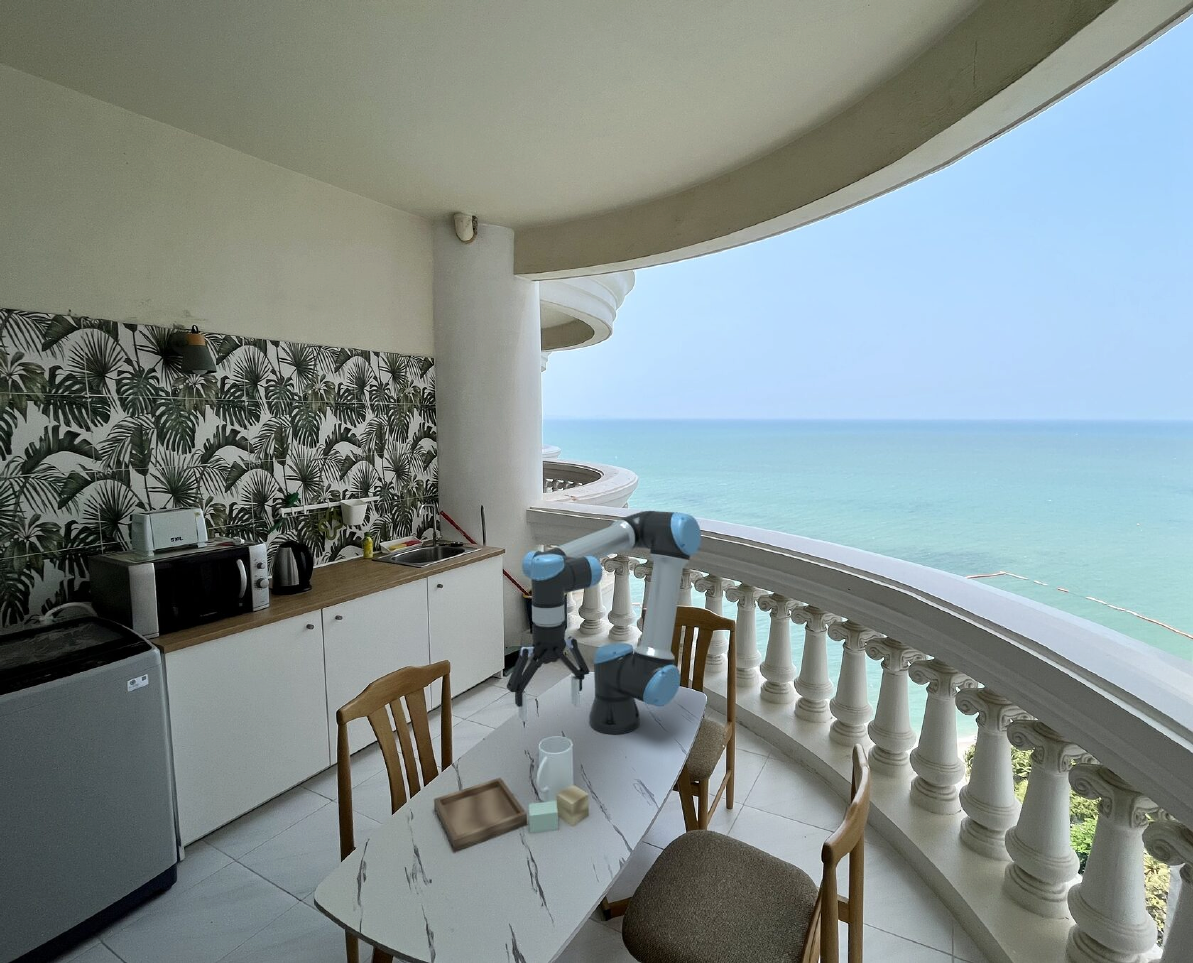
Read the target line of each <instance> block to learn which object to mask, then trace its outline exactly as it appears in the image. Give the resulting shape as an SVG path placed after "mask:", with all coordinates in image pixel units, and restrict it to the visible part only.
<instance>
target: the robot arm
mask: <svg viewBox="0 0 1193 963" xmlns="http://www.w3.org/2000/svg"><path fill="white" fill-rule="evenodd" d="M701 543H702V532H701V528H700V525H699V523H698V521H697V519H696V518H695V517H694V516H693V515H691V514H688V513H684V512H683V513H682V512H678V511H676V512H673V511H659V510H658V511H656V510H645V511H640V512H637V513H634V514H630V515H627V516H625V517H622V518H620V519H619V518H618V519H617V520H615V521H614V522H613V523H612V524H611V526H610V525H609V527H608V526H607V527H605V528H603V529H600V530H598V531H594V532H592V533H590V534H587V535H585V536H581V537H579V538H577V539H575V540H571V541H570V542H565V543H564V544H561V545H559V546H556V547H553V548H550V549H547V550H545V551H541V550H532V551H529V552H528V553H527V554H526V555H525V556H524V557H523V560H522V564H521V567H522V568H521V569H522V572H523V574H524V575H525V576H526V578H528V579H530V580H531V582H530V583H531V618H532V620H531V621H532V622H533V623H532V625H531V627H532V628H531V630H532V633H531V634H532V644H531V646H528V647H526V646H524V645H522V646H521V645H520V647H519V651H518V658H517V660H516V662H515V664H514V667H513V670H512V672H511V674H510V677H509V679H508V681H507V683H506V689H507V690H508V691H509V692H510V693H514V703H515V705H516V706H517V707H518V717H519V719H520V720H521V721H522V722H523V723H524V722H527V721H528V718H527V717H528V716H527V692H526V691H525V689H526V687H527V686H528V684H529V683H530V682H531V680H532V679H533V676H535V674H536V672H537V671H538V669H539V668H541V667H542V665H543V664H544V665H548V664H550V663H556V662H558V660H560V661H561V663H563V665H565V667H566V668H567V669H568V670H569V671H570V672H571V673H572V674H573V675H574V676H573V675H571V677H570V685H571V686H570V690H571V695H570V696H571V702H570V703H571V704H572V705H573V706H574V707H576V708H580V703H581V702H580V692H581V691H583V680H585V675H589V674H590V672H591V671H590V669H589V667H588V664H586V661H585V659H584V657H583V655H582V653H581V652H580V649H579V647H578V645H579V644H578V640H577V639H576V638H574V637H573V636H569V637H568V638H567V639H565V637H566V632H565V631H566V630H565V629H566V628H565V626H566V624H565V622H564V621H566V618H565V617H566V616H565V615H566V614H565V594H567V593H571V592H575V591H580V590H584V589H589V588H591V587H593V586H597V585H598V584H599V583H600V582H601V580H602V577H603V566H602V564H601V563H600V561H599V560H601V559H602V558H603V559H604V558H605V557H607V556H610V555H612V554H614V553H616V552H618V551H622V552H623V551H624V552H626V551H630V550H632V549H646V550H649V551H650V552H649V556H650V558H651V559H652V561H653V565H652V566H653V567H652V571H651V576H650V577H651V578H650V583H649V590H648V597H647V601H646V602H647V603H646V610H645V616H644V621H643V627H642V634H641V640H640V645H638V646H637V647H635V648H634V647H633V645H632V644H630V643H625V642H615V643H614V642H613V643H608V644H605V645H602V646H599V647H597V649H596V650H595V651H594V657H593V658H594V660H593V671H594V699H593V703H592V706H591V709H590V711H589V725H590V727H591V728H592V729H594V730H595V731H597V732H599V733H603V734H608V735H621V734H622V735H623V734H627V733H630V732H632V731H635V730H636V729H637V728H638V727H639V726H640V723H641V720H640V719H641V715H640V714H641V713H640V711H639V709H638V706H637V702H636V700H638V701H641V702H642V703H645V704H647V705H652V706H655V707H664V706H667V705H668V704H670V702H671V701H672V700H673V699H674V697H676V694H677V693H678V690H679V687H680V684H681V677H682V676H681V674H680V670H679V668H678V667H677V666H676V665H675V658H676V657H675V655H674V654H673V653H672V651H671V648H672V643H673V642H672V641H673V638H674V637H673V636H674V630H675V624H676V616H677V609H678V602H679V597H680V590H681V583H682V577H683V569H684V566H686V565H687V564H688V563H690V559H691V556H692V555H695V554H697V552H698V551H699V549H700V547H701ZM566 647H567V648H568V649H569V650H570V653H571V654H572V656H573V658H574V660H575V662H576V664H577V666H578V668H579V669H578V668H577V667H576V665H574V663H573V662H572V661H571V660H570V659H569V658H568V657H567V655H565V653H564V651H565V649H566ZM531 654H533V655H532V656H531ZM530 657H531V659H530V660H529V663H528V659H529V658H530ZM527 663H528V665H527ZM526 665H527V666H526Z"/></svg>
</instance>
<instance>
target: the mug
mask: <svg viewBox="0 0 1193 963" xmlns="http://www.w3.org/2000/svg"><path fill="white" fill-rule="evenodd" d="M573 746H574V745H573V741H572V739H570V738H568V737H565V736H561V735H560V736H559V735H556V736H555V735H554V736H549V737H544V738H543V739H542V740H541V741H540V742H539V744H538V753H539V769H538V772H537V771H536V788H537V790H538V798H539V799H540V800H541V802H550V801H556V804H557V794H558V793H560V792H562V791H563V790H565V789H567V788H568V787H570V786H572V785H574V758H573V756H574V753H573V752H574V749H573Z"/></svg>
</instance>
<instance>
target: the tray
mask: <svg viewBox="0 0 1193 963" xmlns="http://www.w3.org/2000/svg"><path fill="white" fill-rule="evenodd" d="M433 806H434V809H433V810H434V812H435V814H436V816H437V818H438V820H439V823H440V824H441V826H442V829H443V830H444V831H443V832H444V834H445V836H446V837H447V839H448V842H449V843H450V846H451V848H452V850H453V853H456V852H459V851H461V850H464V849H466V848H470V847H473V846H475V845H479V844H480V843H483V842H486V841H488V840H490V839H494V838H495V837H498V836H501V835H504V834H506V833H509V832H511V831H514V830H516V829H519V828H522V827H524V826H527V825H528V814H527V811H525V809H524V808H523V806H522V804H521V803H520V802H519V800H517V798H516V796H515V795H514V794H513V793H512V791H511V790H510V788H509V787H508V785H507V784H506V783H505V781H504V780H503V778H502V777H498V778H494V779H492V780H489V781H485V782H482V783H479V784H476V785H474V786H470V787H467V788H464V789H461V790H458V791H457V790H456V791H455V792H452V793H448V794H446V795H442V796H439V797H436V798H434V799H433Z"/></svg>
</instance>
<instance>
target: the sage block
mask: <svg viewBox="0 0 1193 963" xmlns="http://www.w3.org/2000/svg"><path fill="white" fill-rule="evenodd" d="M528 824H529V833H530V834H535V833H542V832H550V831H558V830H559V817H558V811H557V804H556V801H550V802H543V801H541V802H535V803H528Z"/></svg>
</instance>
